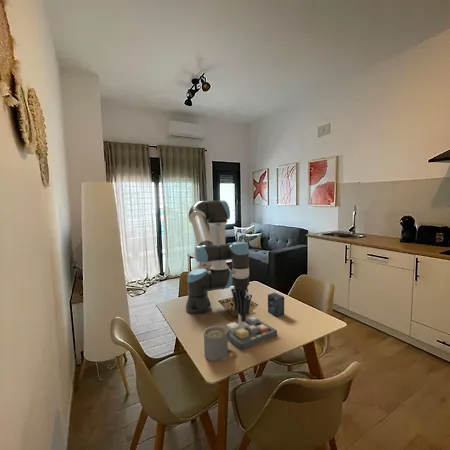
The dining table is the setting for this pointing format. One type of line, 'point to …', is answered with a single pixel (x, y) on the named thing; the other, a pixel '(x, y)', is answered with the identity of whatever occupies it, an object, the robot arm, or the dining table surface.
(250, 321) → the key slate
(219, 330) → the coffee mug
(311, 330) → the dining table surface
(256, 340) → the keypad board
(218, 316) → the dining table surface
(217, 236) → the robot arm
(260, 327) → the key terracotta
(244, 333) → the key ochre
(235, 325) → the key cream
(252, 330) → the key charcoal
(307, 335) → the dining table surface
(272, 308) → the box
